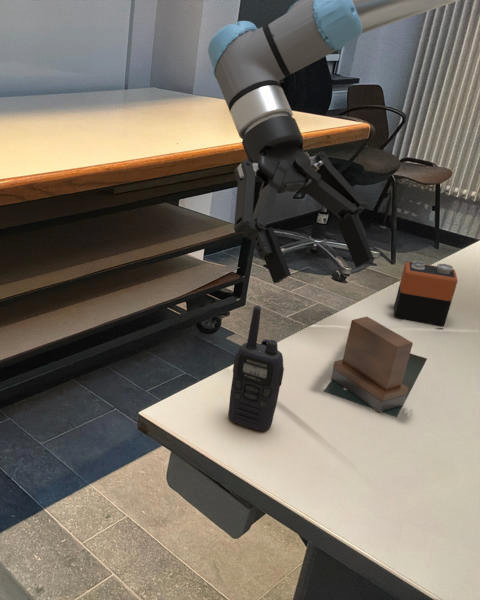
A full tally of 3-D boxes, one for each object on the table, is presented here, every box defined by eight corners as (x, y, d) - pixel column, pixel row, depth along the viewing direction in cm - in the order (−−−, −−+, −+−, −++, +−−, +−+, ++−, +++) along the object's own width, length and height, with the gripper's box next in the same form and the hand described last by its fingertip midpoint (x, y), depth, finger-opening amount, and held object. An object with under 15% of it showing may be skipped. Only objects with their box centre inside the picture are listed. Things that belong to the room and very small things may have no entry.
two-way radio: (222, 421, 79) (238, 307, 72) (234, 402, 82) (251, 291, 76) (268, 437, 76) (290, 320, 70) (279, 417, 80) (301, 304, 73)
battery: (441, 336, 99) (460, 274, 94) (391, 327, 101) (407, 265, 96) (439, 323, 102) (457, 262, 98) (391, 314, 104) (406, 255, 100)
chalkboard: (356, 342, 96) (358, 335, 96) (431, 365, 91) (434, 357, 91) (314, 399, 83) (315, 391, 83) (399, 430, 78) (401, 422, 78)
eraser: (330, 378, 86) (343, 318, 82) (354, 371, 87) (368, 313, 83) (379, 412, 79) (395, 350, 75) (404, 405, 81) (421, 343, 77)
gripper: (321, 137, 100) (377, 267, 94) (176, 151, 91) (229, 297, 85) (355, 107, 93) (417, 245, 88) (202, 119, 84) (261, 274, 79)
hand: (324, 271), depth 86 cm, fingers open, 13 cm apart
